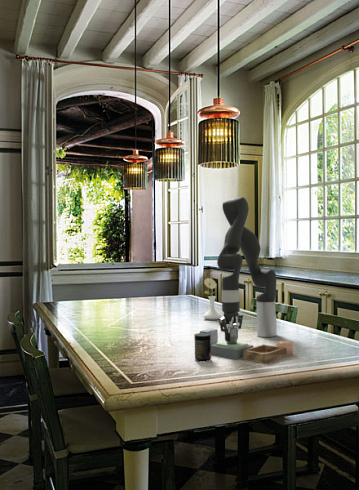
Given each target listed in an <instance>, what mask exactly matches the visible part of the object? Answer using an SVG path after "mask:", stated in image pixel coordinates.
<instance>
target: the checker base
mask: <svg viewBox="0 0 359 490" xmlns="http://www.w3.org/2000/svg"><path fill="white" fill-rule="evenodd" d="M252 347H254V345H253V344H248V346H246V347H242V348H239V349H233V348H227V347H221V346H216V344H214V345H211V355H212V354H214V355H213V356H217V355H219V356H218V357H222V356H223V358H229V359H234V360H239V359H243V350H245V349H249V348H252Z"/></svg>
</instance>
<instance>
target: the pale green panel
mask: <svg viewBox="0 0 359 490" xmlns="http://www.w3.org/2000/svg"><path fill="white" fill-rule="evenodd" d="M248 345H249V344H248V343H245V342H241V341H237V344H233V345H231V344H226V341H225V340H223V341H220V342H219V341H218V343H216V346H221V347H227V348H233V349H239V348H242V347H246V346H248Z"/></svg>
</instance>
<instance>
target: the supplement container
mask: <svg viewBox="0 0 359 490" xmlns="http://www.w3.org/2000/svg"><path fill="white" fill-rule="evenodd" d="M194 360H195V361H197V362H200V361H202V362H203V361H205V362H209V360H210V361H211V360H212V354H211V334H209V333H200V332H199V333H195V334H194ZM203 363H204V362H203Z"/></svg>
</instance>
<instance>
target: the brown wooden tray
mask: <svg viewBox="0 0 359 490" xmlns="http://www.w3.org/2000/svg"><path fill="white" fill-rule="evenodd" d="M286 357H287V356H286V348H280V347H276V345H269V344H265V343H264V344H261V345H256V346H253V347H252V348H249V349H245V350H243V358H242V360H248V361H253V362H258V363H262V364H267V363H270V362H273V361H277V360H280V359H283V358H286Z"/></svg>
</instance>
